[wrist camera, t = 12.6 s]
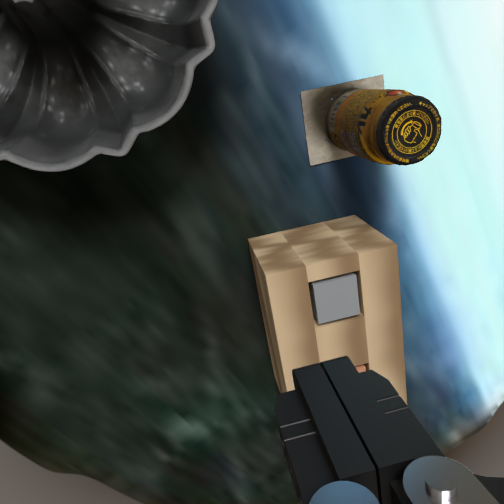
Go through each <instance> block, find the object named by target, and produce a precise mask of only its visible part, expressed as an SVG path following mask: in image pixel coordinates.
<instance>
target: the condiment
mask: <svg viewBox="0 0 504 504" xmlns="http://www.w3.org/2000/svg"><path fill="white" fill-rule="evenodd" d="M301 98H302V107H303V115H304V123H305V130H306V138H307V145H308V153H309V159H310V166H311V165H316V164H321V163H325V162H330V161H334V160H339V159H343V158H347V157H351V156H356V155H357V156H358V157H362V158H366V159H368V160H370V161H372V162H378V163H380V164H387V165H392V164H397V165H399V166H400V165H405V166H406V165H409V164H414V163H417V162H420V161H422V160H423V159H424V158H425V157H427V156H428V155H430V154H431V153H432V152H433V150H434V149H435V147H436V145H437V143H438V141H439V138H440V135H441V117H440V115H439V112H438V110H437V108H436V107H435V106H434V105H433V104H432V103H431V102H430V101H429V100H428V99H426V98H424V97H422V96H415V95H413V94H411V93H409V92H407V91H404V90H391V89H386V90H384V79H383V75H379V76H374V77H370V78H365V79H360V80H355V81H350V82H345V83H340V84H336V85H331V86H326V87H321V88H316V89H312V90H307V91H302V92H301ZM331 98H333V100H331ZM324 139H327V140H328V141H330V142H331V143H329V142H328V141H327V142H326V141H324Z"/></svg>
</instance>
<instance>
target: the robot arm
mask: <svg viewBox="0 0 504 504" xmlns="http://www.w3.org/2000/svg"><path fill="white" fill-rule="evenodd" d="M292 376H293V382H294V387H295V390H292V391H288V392H284V393H280V394H278V399H277V403H276V407H275V412H276V417H277V422H278V427H279V432H280V437H281V442H282V447H283V452H284V456H285V459H286V463H287V466H288V469H289V472H290V476H291V479H292V483H293V486H294V489H295V493H296V496H297V499H298V503H299V504H504V478H496V477H484V476H479V475H475V474H473V473H472V472H471V471H470V470H469V469H468V468H466V467H465V466H463V465H462V464H461V463H459V462H457V461H455V460H452V459H450V458H446V457H445V456H444V455H443V453H442V452H441V451H440V449H439V448H438V447H437V445H436V444H435V443H434V441H433V440H432V439H431V437H430V436H429V434H428V433H427V432H426V430H425V429H424V428H423V426H422V425H421V424H420V422H419V421H418V419H417V418H416V417H415V415H414V414H413V413H412V411H411V410H410V409H408V407H407V404H406V403H405V402H404V400H403V399H402V398H401V397H400V396H399V394H398V392H397V391H396V390H395V388H394V387H393V385H392V384H391V383H390V381H389V380H388V379H386V378H385V377H383V376H381V375H380V374H378V373H377V372H375V371H373V370H368V371H364V372H361V373H359V372H358V371H357V369H356V368H355V366H354V365H353V363H352V361H351V360H350V358H349V357H348V356H343V357H339V358H335V359H331V360H327V361H323V362H320V364H319V363H316V364H312V365H308V366H304V367H300V368H296V369H292Z"/></svg>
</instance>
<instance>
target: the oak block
mask: <svg viewBox="0 0 504 504" xmlns="http://www.w3.org/2000/svg"><path fill="white" fill-rule="evenodd" d="M248 243H249V248H250V253H251V258H252V263H253V269H254V274H255V279H256V284H257V289H258V294H259V299H260V304H261V310H262V315H263V320H264V325H265V330H266V335H267V340H268V346H269V351H270V356H271V361H272V366H273V371H274V376H275V379H276V382H277V385H278V388H279V391H280V393H284V392H288V391H292V390H295V387H294V382H293V376H292V369H296V368H300V367H304V366H308V365H312V364H316V363H319V364H320V362H323V361H327V360H331V359H335V358H339V357H343V356H348V357H349V358H350V360H351V361H352V363H353V365H354V366H358V365H362V364H364V366H365V367H366V371H368V370H373V371H375V372H377V373H378V374H380V375H381V376H383V377H385V378H386V379H388V380H389V381H390V383H391V384H392V385H393V387H394V388H395V390H396V391H397V392H398V394H399V396H400V397H401V398H402V399H403V400H404V402H405V403H406V404H407V396H406V380H405V363H404V347H403V331H402V314H401V298H400V282H399V265H398V249H397V244H396V243H394V242H393V241H391V240H390V239H389V238H387V237H386V236H384V235H383V234H381V233H380V232H379V231H377V230H376V229H374V228H373V227H371V226H370V225H369V224H367V223H366V222H364V221H363V220H361V219H360V218H359V217H357V216H356V215H351V216H347V217H343V218H338V219H334V220H329V221H325V222H321V223H316V224H312V225H307V226H303V227H298V228H294V229H290V230H285V231H281V232H276V233H272V234H267V235H263V236H259V237H254V238H250V239H248ZM350 272H354V273H355V274H356V277H357V287H358V297H359V307H360V314H358V315H354V316H350V317H346V318H342V319H338V320H334V321H330V322H326V323H322V324H318V322H317V321H316V319H315V317H314V316H313V312H312V305H311V298H310V292H309V285H308V282H312V281H316V280H321V279H325V278H329V277H333V276H337V275H342V274H346V273H350Z"/></svg>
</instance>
